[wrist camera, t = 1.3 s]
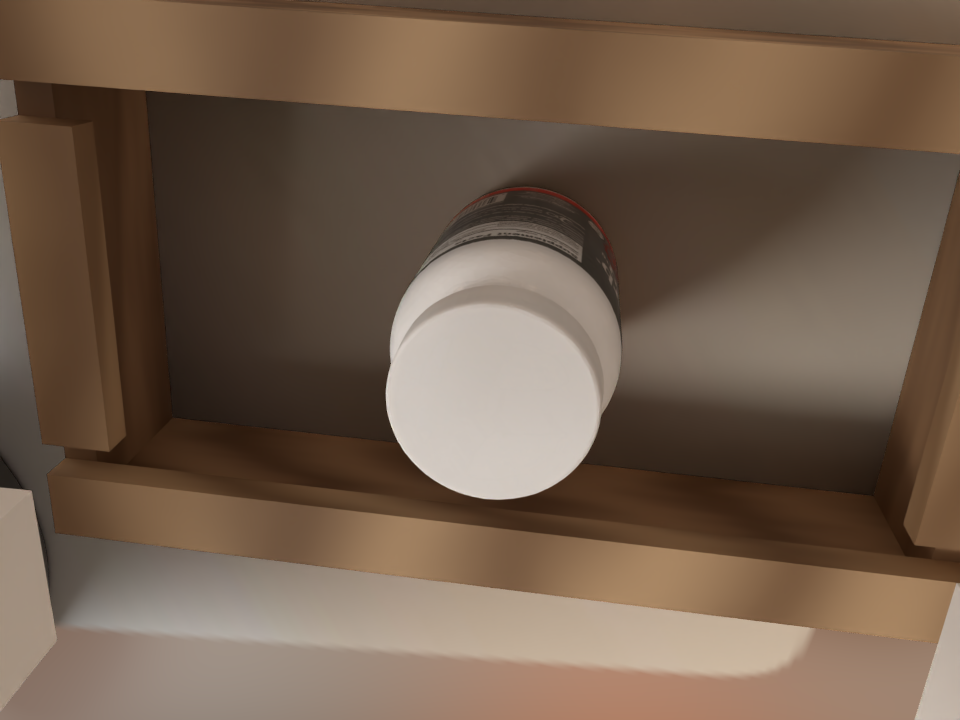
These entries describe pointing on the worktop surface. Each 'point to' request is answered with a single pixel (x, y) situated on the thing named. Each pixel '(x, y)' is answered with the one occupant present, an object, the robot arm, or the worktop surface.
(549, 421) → the pill bottle
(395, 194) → the worktop surface
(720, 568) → the tray
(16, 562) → the robot arm
